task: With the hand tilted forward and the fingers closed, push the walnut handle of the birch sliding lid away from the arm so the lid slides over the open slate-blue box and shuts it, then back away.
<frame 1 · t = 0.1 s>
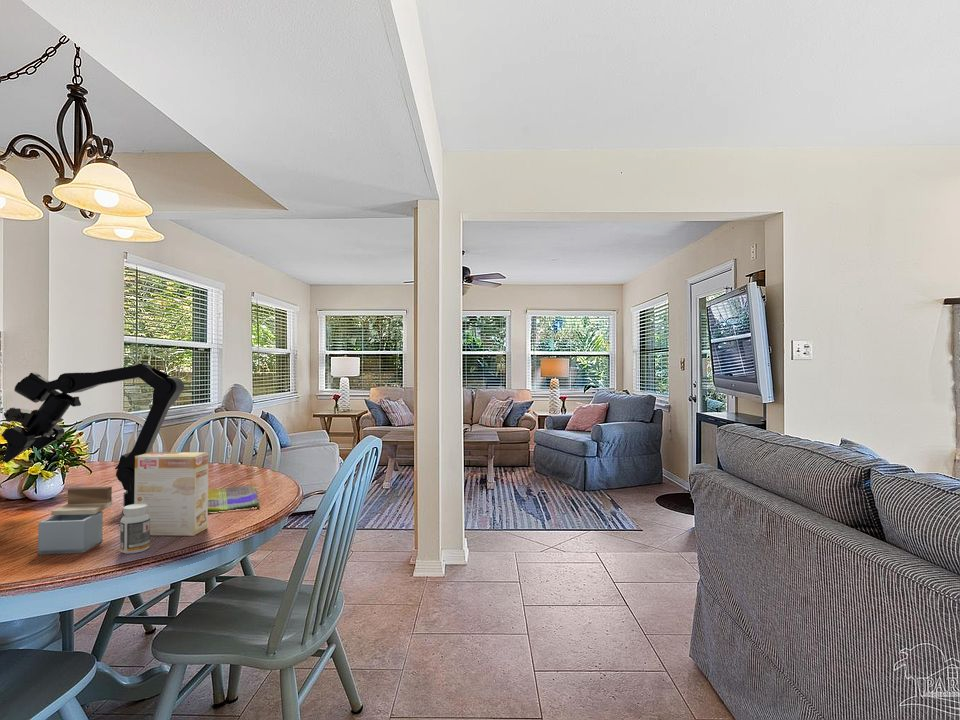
hand: (16, 459, 151), 15 cm above the table, tool tilted 35°, fingers open, 9 cm apart
pill bottle: (135, 551, 122), on the table
birch lid: (83, 500, 128), point 10 cm above the table, slide at 4.5 cm
dish towel: (227, 504, 165), on the table
coffeecake box: (171, 532, 136), on the table
slate box: (71, 547, 123), on the table
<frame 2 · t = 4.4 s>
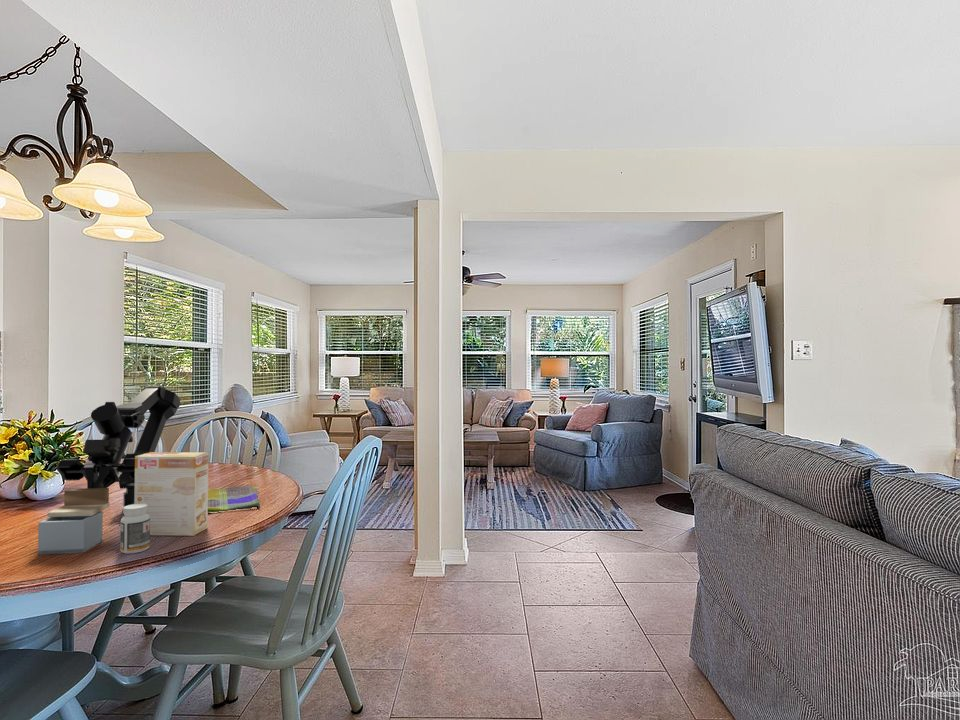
hand: (89, 498, 131), 9 cm above the table, tool tilted 45°, fingers closed, pressing on birch lid
birch lid: (79, 501, 127), point 10 cm above the table, slide at 3.1 cm, touching gripper
everything else where it was.
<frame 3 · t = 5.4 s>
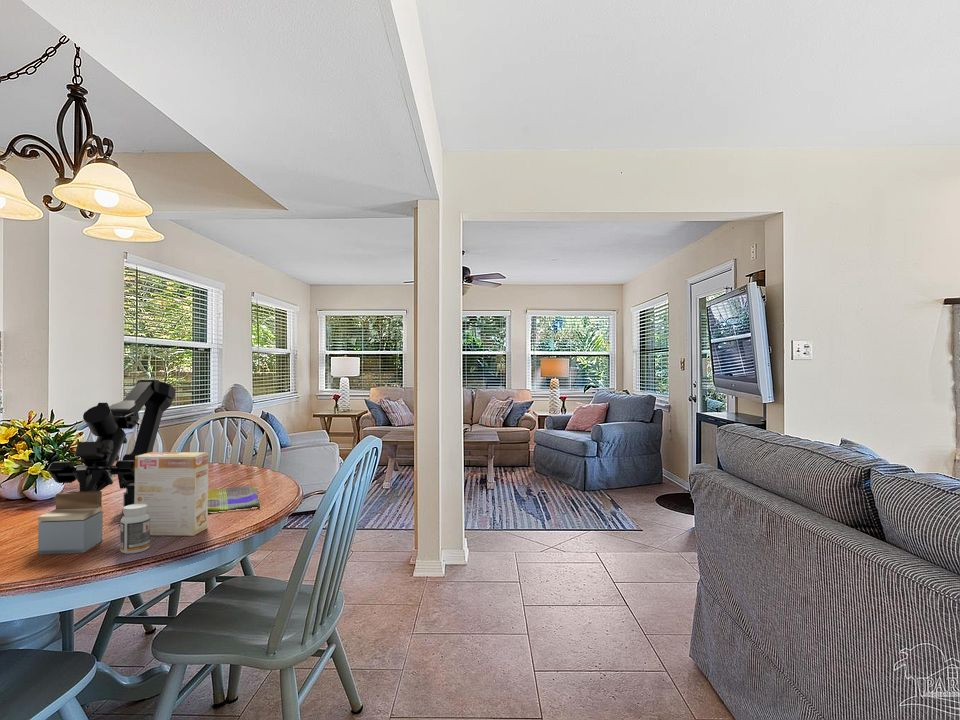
hand: (81, 502, 127), 9 cm above the table, tool tilted 45°, fingers closed, pressing on birch lid
birch lid: (71, 505, 123), point 10 cm above the table, slide at -0.2 cm, touching gripper
everything else where it was.
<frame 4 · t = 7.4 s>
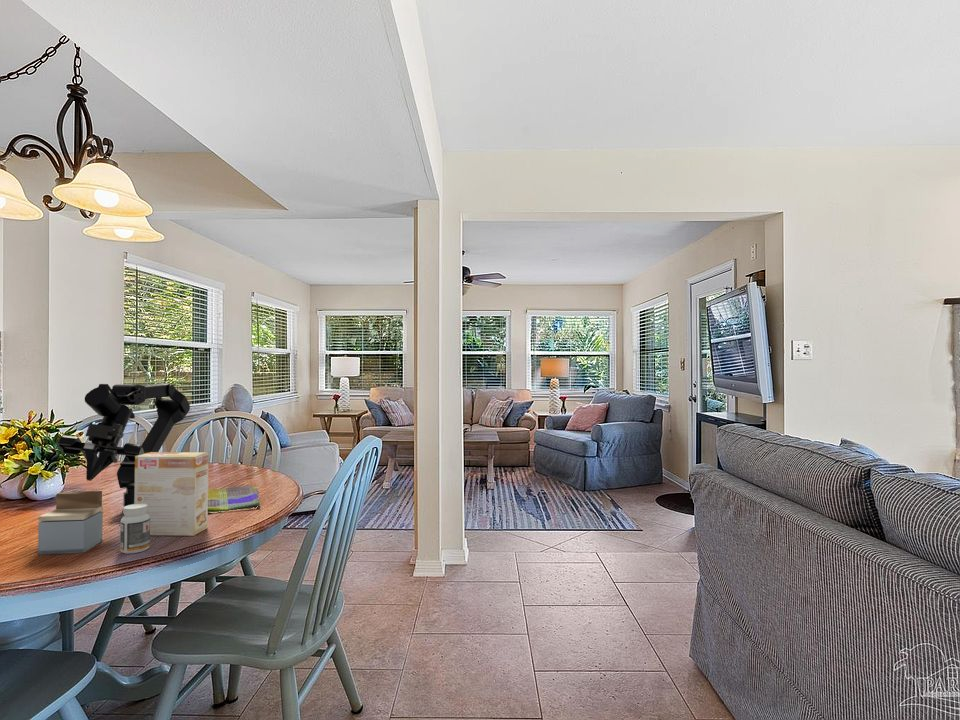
hand: (88, 480, 136), 13 cm above the table, tool tilted 35°, fingers closed
birch lid: (72, 505, 123), point 10 cm above the table, slide at 0.0 cm
everything else where it was.
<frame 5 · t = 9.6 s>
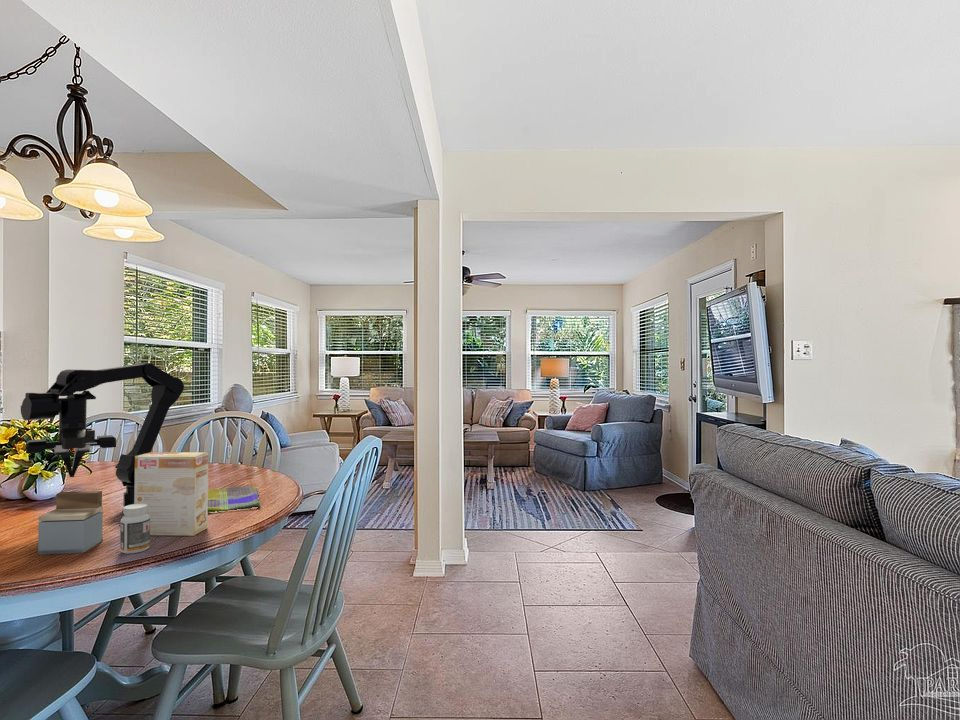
hand: (71, 476, 142), 12 cm above the table, tool pointing down, fingers closed
nothing on the table moved.
at the end: birch lid slide at 0.0 cm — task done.
